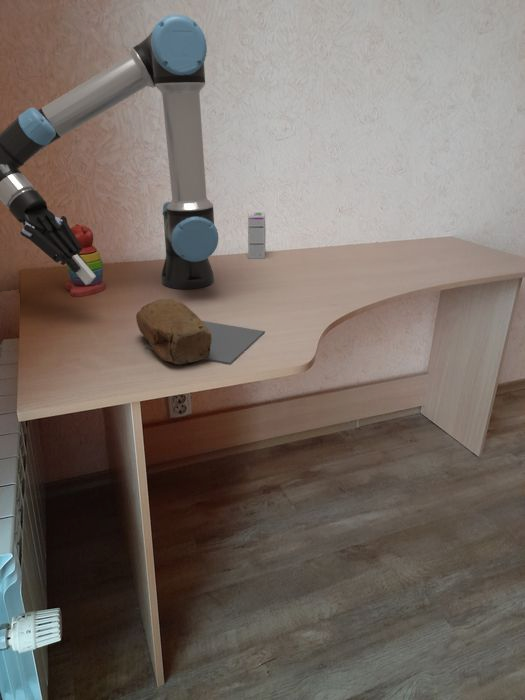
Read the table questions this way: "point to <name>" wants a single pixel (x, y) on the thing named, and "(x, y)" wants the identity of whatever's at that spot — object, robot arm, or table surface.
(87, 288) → the stacking bear
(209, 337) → the block
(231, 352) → the mat
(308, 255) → the table surface
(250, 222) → the syrup box
